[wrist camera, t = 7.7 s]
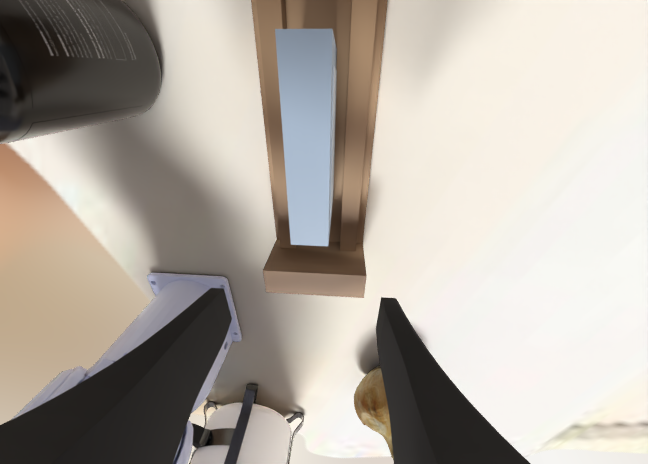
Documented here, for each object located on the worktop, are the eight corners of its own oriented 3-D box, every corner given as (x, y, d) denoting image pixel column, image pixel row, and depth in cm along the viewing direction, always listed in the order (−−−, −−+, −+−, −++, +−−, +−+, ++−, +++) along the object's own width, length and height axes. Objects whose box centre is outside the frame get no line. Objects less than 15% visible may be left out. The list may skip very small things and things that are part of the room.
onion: (432, 364, 29) (460, 451, 22) (392, 394, 33) (405, 475, 26) (377, 342, 28) (388, 426, 21) (342, 375, 31) (341, 456, 25)
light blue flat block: (333, 201, 18) (329, 246, 13) (305, 200, 18) (289, 244, 13) (337, 50, 14) (333, 28, 9) (300, 50, 14) (273, 28, 9)
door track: (359, 256, 22) (363, 297, 17) (281, 252, 22) (266, 292, 18) (394, -91, 12) (423, -194, 7) (247, -86, 12) (194, -181, 8)
